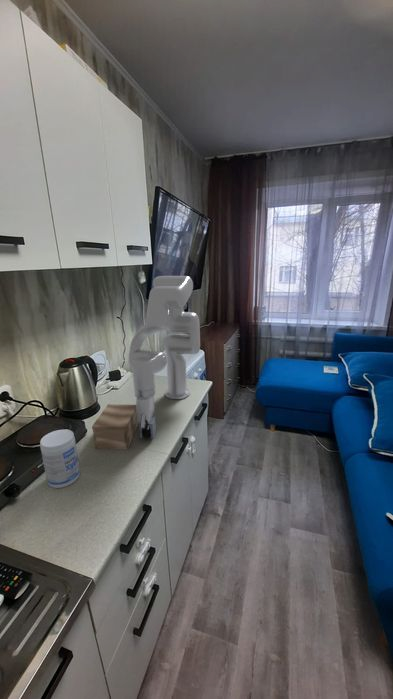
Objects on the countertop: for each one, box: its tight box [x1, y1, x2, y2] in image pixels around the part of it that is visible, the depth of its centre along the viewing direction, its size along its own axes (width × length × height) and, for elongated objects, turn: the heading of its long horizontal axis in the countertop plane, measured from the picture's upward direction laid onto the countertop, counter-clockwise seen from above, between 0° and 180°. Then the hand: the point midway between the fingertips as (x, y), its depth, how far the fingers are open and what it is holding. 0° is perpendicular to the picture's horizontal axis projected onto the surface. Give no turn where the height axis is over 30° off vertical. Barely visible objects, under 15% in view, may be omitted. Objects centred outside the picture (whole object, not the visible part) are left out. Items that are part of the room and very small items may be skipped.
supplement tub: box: [39, 429, 81, 489], centre depth 87 cm, size 10×10×15 cm
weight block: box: [138, 416, 157, 439], centre depth 109 cm, size 5×5×6 cm
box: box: [92, 412, 140, 450], centre depth 110 cm, size 16×12×8 cm
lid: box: [91, 403, 136, 430], centre depth 109 cm, size 16×12×1 cm
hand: (148, 432), depth 109 cm, fingers closed on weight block, 5 cm apart
